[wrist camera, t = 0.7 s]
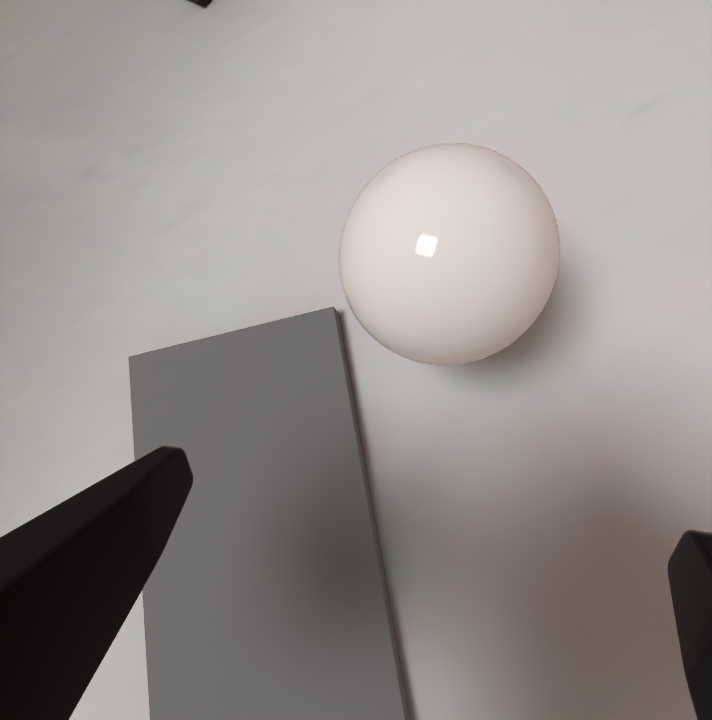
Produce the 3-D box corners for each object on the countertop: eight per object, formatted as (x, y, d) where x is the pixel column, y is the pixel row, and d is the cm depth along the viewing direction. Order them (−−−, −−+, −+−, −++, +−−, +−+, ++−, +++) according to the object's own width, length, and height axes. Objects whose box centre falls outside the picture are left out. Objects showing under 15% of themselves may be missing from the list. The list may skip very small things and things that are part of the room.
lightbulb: (549, 312, 20) (650, 161, 10) (463, 424, 20) (471, 394, 10) (434, 240, 22) (415, 47, 12) (354, 342, 22) (261, 241, 11)
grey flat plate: (411, 730, 18) (409, 746, 17) (167, 750, 20) (152, 765, 19) (338, 312, 22) (333, 306, 22) (141, 360, 24) (128, 356, 23)
